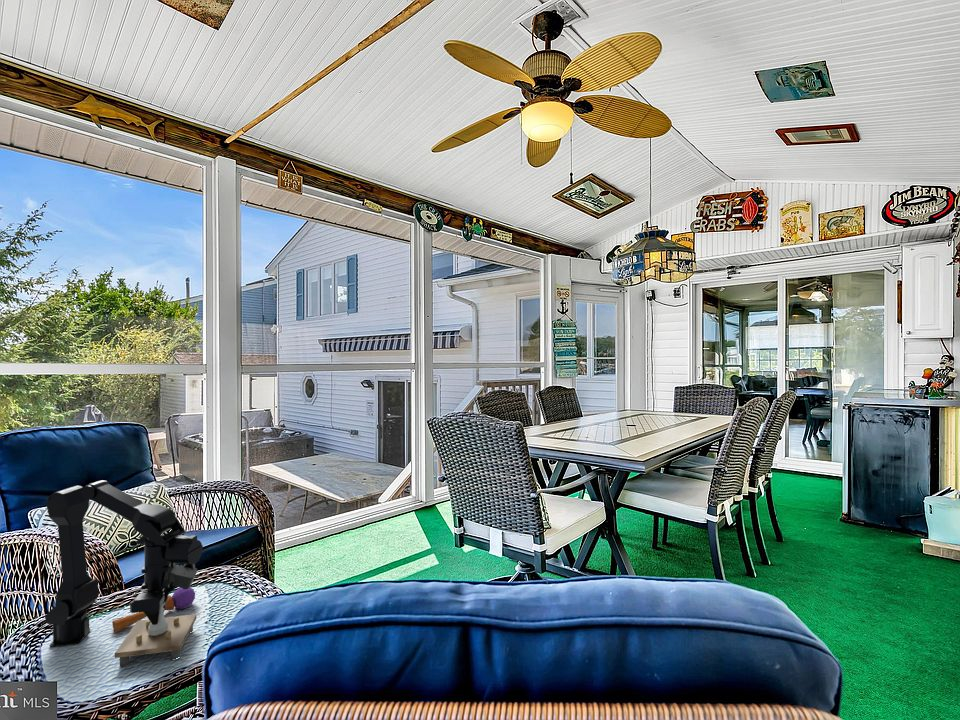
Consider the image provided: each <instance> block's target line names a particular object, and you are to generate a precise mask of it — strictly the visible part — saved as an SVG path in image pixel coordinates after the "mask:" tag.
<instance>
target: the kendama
mask: <svg viewBox="0 0 960 720" xmlns="http://www.w3.org/2000/svg"><path fill="white" fill-rule="evenodd" d="M195 599H196V592H195V590H194V589H193V588H192V587H191V586H190V588H189V589H182V588H181V587H177V589H176V590H175V591H174V592H173V594H172V596H171V595H169V596H168V599H167V603H166V607H165V610H164V611H174V610H175V609H177V610H181V609H186V608H189V607H190V606H191V605H192V604H193V603H194V600H195ZM146 617H147V616H146V615H145V613H144V612H138V613H132V614H129V615H127V616H124V617H122V618H117V619H114V620H112V623H111V624H112V628H113V631H114V633H116V634H118V633H119V632H121V631H123V630H125V629H126V628H129V627H130V626H132V625H135V624H136V622H137V621H138V620H144V619H145V618H146ZM147 618H148V617H147Z"/></svg>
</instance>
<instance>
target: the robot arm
mask: <svg viewBox="0 0 960 720" xmlns="http://www.w3.org/2000/svg"><path fill="white" fill-rule="evenodd" d="M90 501H93V502H95V503H96V504H98V505H100V506H102V507H104V508H106V509H107V510H110V511H111V512H113V513H114V514H116V515H119V516H120V517H122V518H124V519H126V520H128V521H129V522H131V524H132V527H133V529H134V530H135V531H136V532H137V533H139V534H140V535H141V537H140V538H139V539H137V540H136V541H135V543H136V544H137V545H144V566H143V567H142V568H141V574H144V582H143V583H142V585H141V590H142V591H144V590H147V591H146V592H140V593H138V595H137V596H135V598H134V599H133V600H132V601H131V602H130V604H129V613H131V614H136V613H139V612H144V613H145V615H146V616H147V620H148V619H149V620H150V622H151V623H152V625H157V624H158V621H159V616H160V610H161V606H162V605H163V604H164V603H165V605H164V606H163V608H164V611H163V613H165V611H166V610H165V607H166V603H167V599H168V596H170V593H171V592H172V591H173V590H174V589H175V587H177V588H182V589H189V588H190V587H191V586H192V584H193V582H194V580H195V578H196V575H197V573H198V571H197V570H198V568H196V563H198V561H199V560H200V559H201V557H202V554H203V551H204V550H203V549H204V546H203V544H202V542H201V541H200V540H198V536H197V535H193V534H191V535H184V534H185V533H186V530H185V529H184V526H183V525H182V524H181V523H180V521H179V520H178V518H177V517H176V514H175V512H174V510H173V509H171V508H168V507H165V506H163V505H158V504H150V503H149V504H148V503H146V502H143V501H141V500H139V499H138V498H136V497H134V496H133V495H132V496H131V495H130V494H128V493H126V492H125V491H123V490H120V489H118V488H117V487H116V486H113V485H111V484H110V482H109V481H108V480H103V479H102V480H97V481H95V482H90V483H88V484H86V485H84V486H81V485H74V486H70V487H67V488H64V489H62V490H58V491H55V492H53V493H51V494H50V495H49V497H47V498H46V501H45V503H46V505H45V506H46V509H47V514H48V517H49V518H50V520H51V521H53V523H54V524H56V525H57V531H58V541H59V544H58V545H59V553H60V563H61V577H62V581H61V583H60V585H59V588H58V589H57V591H56V594H55V603H54V604H55V605H54V606H53V607H52V608H51V609H50V610H49V611H48V612H47V613H46V614H45V615H44V620H45V622H46V624H47V625H52V641H51V643H50V644H49V647H50V648H54V647H62V646H63V647H64V646H72V645H79V644H80V643H81V642H82V641H83V640H84V639H85V637H86V636H87V635H88V634H89V633H90V632H91V627H90V616H88V610H90V609H92V608H93V607H94V603H95V602H96V600H97V599H98V597H99V594H100V593H101V592H100V588H99V580H98V579H97V578H92V577H91V576H90V574H88V570H87V568H88V567H87V559H86V558H87V556H86V548H85V547H86V544H85V536H84V535H85V533H84V518H85V516H86V515H87V512H88V511H89V508H90ZM169 530H171V531H169ZM167 531H169V532H167ZM166 532H167V533H166ZM164 533H166V534H164ZM176 564H177V565H176ZM179 564H180V565H179Z"/></svg>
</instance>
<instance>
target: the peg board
mask: <svg viewBox="0 0 960 720" xmlns="http://www.w3.org/2000/svg"><path fill="white" fill-rule="evenodd" d="M164 618H165V619H166V621H167V623H168V625H167V626H168V629H167V631H166V632H164V633H163V634H161V635H158V636H151V635H149V634H148V631H149V630H148V627H149V625H150V623H151V622H150V620H149V619H148V618H147V619H141V620H138V621H137V622H136V623H134V624H133V626H132V628H131V629H130V630H129V632H128V633H127V635H126V637H125V638H124V639H123V641H122V642H121V643H120V645H119V646H118V648H117V649H116V651H115V653H114V659H119V667H120V668H126V667H127V666H129V665H130V664H131V662H130V661H131V659H130V657H134V656H143V655H150V654H158V653H167V652H170V660H171V659H176V658H178V657H180V658H181V650H182V648H183V646H184V644H185V642H186V640H187V638H188V636H189V635H190V634H189V633H190V632H192V631H193V632H194V625H195V622H196V621H197V614H196V613H194V614H188V615H187V614H186V615H184V614H183V615H179V616H178V615H177V616H168V617H164ZM193 632H192V633H193Z"/></svg>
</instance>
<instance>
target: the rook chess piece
mask: <svg viewBox="0 0 960 720" xmlns="http://www.w3.org/2000/svg"><path fill="white" fill-rule="evenodd" d="M164 605H165V603H164V604H163V605H162V606H161V610H160V616H159V621H158V624H157V625H152V623H150V625H149V627H148V630H149V631H148V634H149V635H151V636H158V635H161V634H163V633H164V632H166V631H167V629H168V626H167V625H168V623H167V621H166V619H165V618H166V617H165V615H164V613H165V610H164V608H163V606H164ZM163 611H164V613H163Z"/></svg>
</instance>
